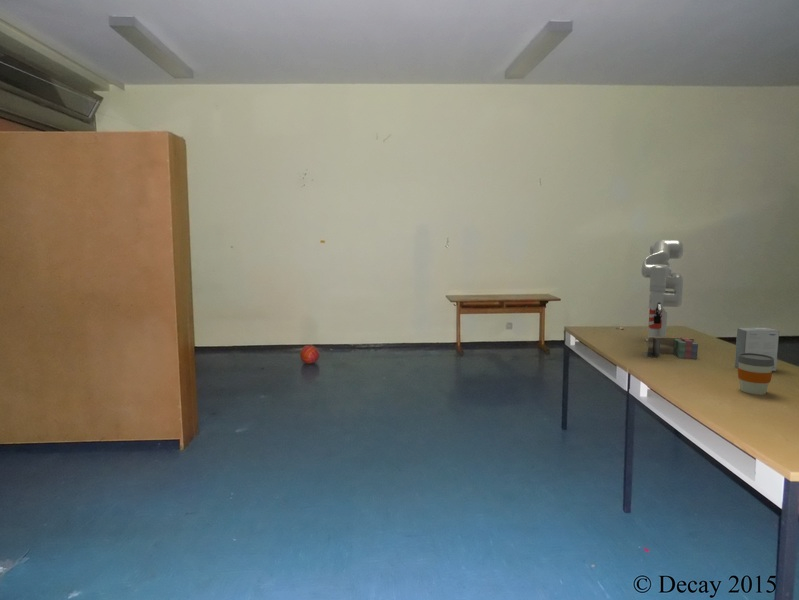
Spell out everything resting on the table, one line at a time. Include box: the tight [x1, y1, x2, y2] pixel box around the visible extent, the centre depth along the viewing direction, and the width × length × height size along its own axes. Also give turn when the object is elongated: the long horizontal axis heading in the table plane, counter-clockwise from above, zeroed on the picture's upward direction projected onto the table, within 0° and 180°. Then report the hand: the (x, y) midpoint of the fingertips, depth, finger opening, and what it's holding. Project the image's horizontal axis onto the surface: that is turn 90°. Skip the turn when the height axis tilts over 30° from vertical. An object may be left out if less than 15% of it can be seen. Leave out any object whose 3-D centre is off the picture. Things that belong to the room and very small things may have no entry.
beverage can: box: [648, 308, 662, 330], centre depth 269 cm, size 6×6×12 cm
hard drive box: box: [734, 327, 780, 372], centre depth 245 cm, size 16×8×20 cm, turn 84°
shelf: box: [646, 336, 699, 360], centre depth 274 cm, size 11×23×10 cm, turn 78°
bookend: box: [642, 337, 660, 358], centre depth 275 cm, size 10×6×9 cm, turn 168°
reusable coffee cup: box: [737, 353, 774, 396], centre depth 210 cm, size 13×13×15 cm
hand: (655, 321), depth 269 cm, fingers closed on beverage can, 6 cm apart
